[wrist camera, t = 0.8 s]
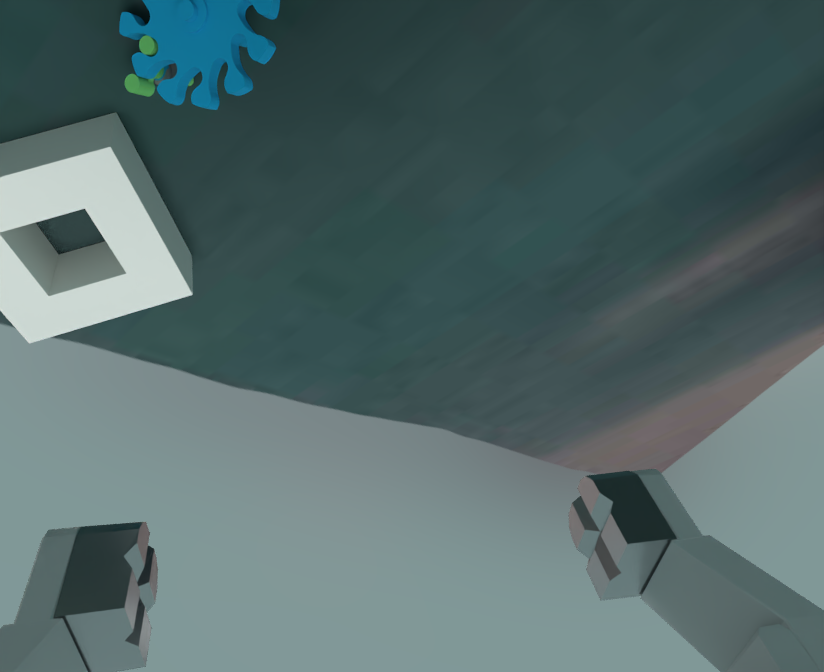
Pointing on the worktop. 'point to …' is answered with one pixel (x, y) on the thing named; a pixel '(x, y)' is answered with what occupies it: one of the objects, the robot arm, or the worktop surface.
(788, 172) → the worktop surface
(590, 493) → the robot arm
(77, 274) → the fitting block
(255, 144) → the worktop surface
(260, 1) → the gear
